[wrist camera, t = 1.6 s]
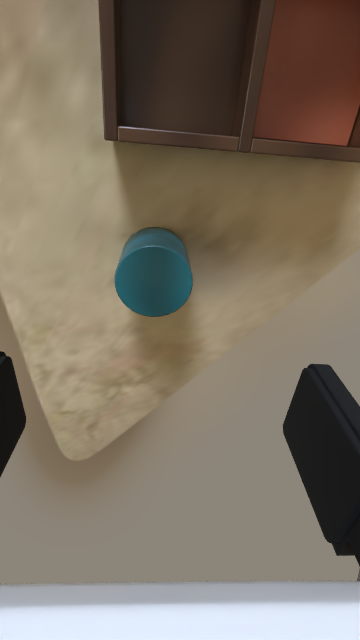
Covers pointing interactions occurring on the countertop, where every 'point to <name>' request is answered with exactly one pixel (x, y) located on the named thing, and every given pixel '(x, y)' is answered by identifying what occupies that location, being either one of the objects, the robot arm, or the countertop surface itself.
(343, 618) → the robot arm
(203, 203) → the countertop surface
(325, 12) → the grid
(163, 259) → the teal cylinder
